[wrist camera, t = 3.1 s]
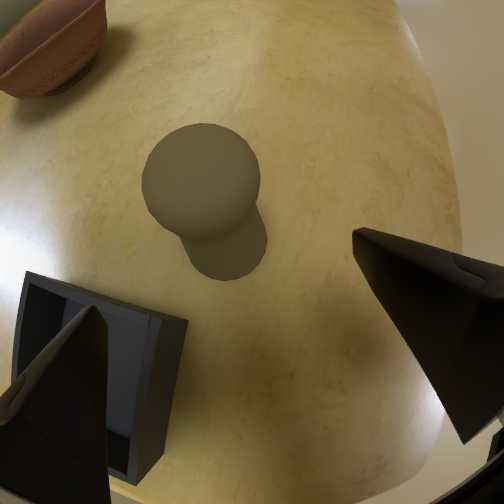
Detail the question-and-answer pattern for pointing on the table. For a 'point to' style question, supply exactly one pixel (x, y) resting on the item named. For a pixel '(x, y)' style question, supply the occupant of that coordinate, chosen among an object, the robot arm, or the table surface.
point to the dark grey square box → (112, 365)
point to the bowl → (52, 48)
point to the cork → (208, 198)
